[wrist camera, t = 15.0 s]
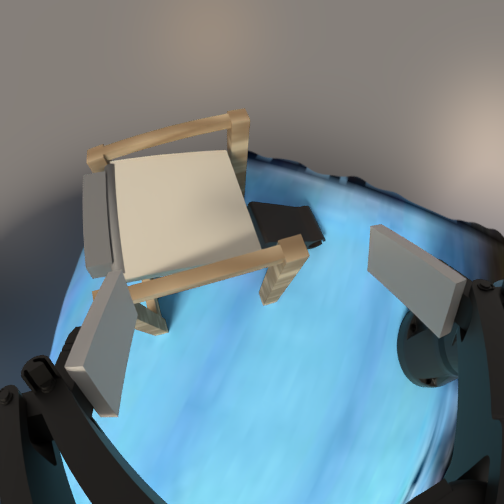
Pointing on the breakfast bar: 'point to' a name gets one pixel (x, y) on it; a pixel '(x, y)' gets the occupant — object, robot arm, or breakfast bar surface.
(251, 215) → the phone stand
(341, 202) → the breakfast bar surface
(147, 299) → the trapdoor frame
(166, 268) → the trapdoor
